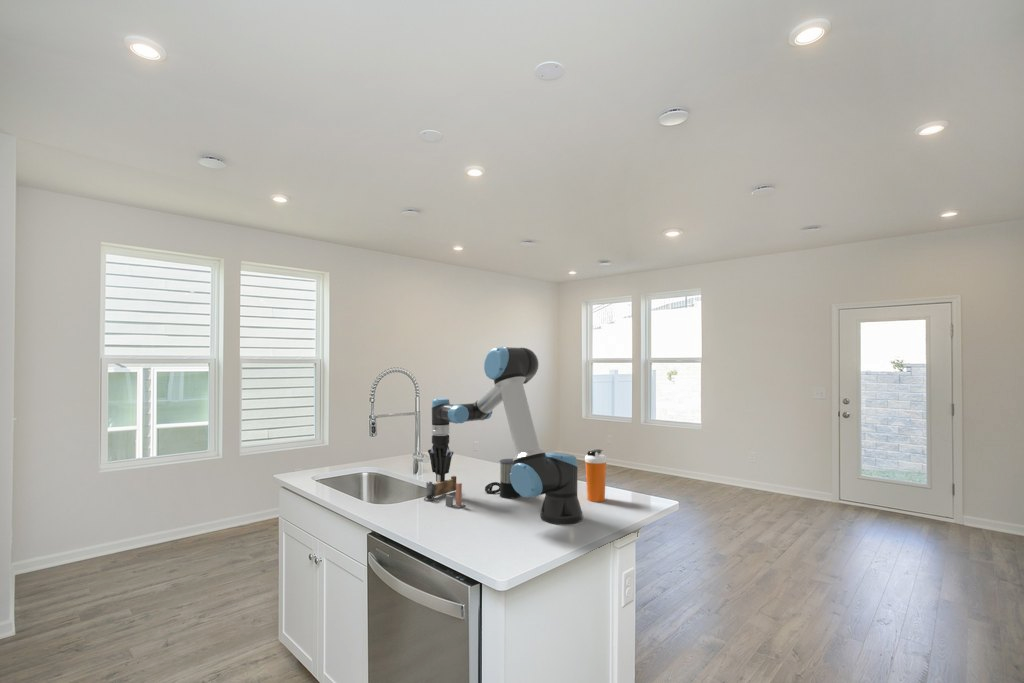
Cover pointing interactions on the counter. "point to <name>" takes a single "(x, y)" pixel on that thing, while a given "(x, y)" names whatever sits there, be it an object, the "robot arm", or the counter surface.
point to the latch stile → (458, 497)
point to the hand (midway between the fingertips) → (440, 489)
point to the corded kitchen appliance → (504, 481)
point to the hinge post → (429, 492)
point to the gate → (444, 487)
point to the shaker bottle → (595, 475)
